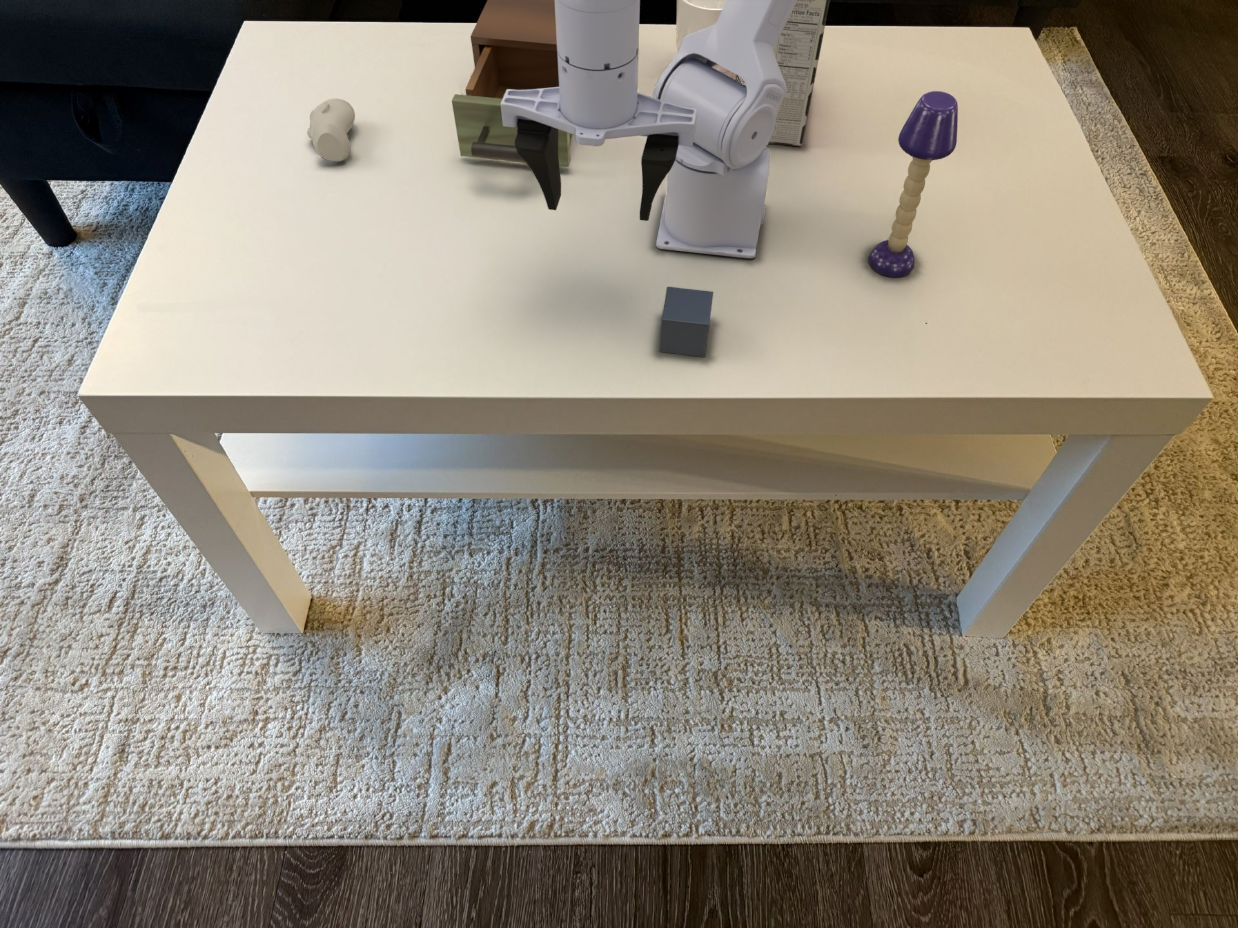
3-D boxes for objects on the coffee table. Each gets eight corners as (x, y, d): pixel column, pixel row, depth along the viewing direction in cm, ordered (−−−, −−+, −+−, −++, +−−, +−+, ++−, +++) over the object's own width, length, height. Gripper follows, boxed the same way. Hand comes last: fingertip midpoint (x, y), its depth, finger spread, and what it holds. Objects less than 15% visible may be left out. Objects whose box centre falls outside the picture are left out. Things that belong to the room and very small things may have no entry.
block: (709, 324, 77) (713, 291, 74) (704, 357, 75) (709, 324, 72) (664, 319, 78) (667, 286, 74) (659, 352, 75) (661, 319, 72)
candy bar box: (762, 86, 99) (785, -68, 86) (806, 90, 99) (836, -64, 85) (755, 144, 93) (779, -13, 79) (802, 149, 92) (834, -8, 79)
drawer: (560, 193, 86) (557, 137, 81) (449, 181, 87) (439, 125, 82) (589, 98, 96) (588, 43, 91) (489, 89, 97) (482, 33, 92)
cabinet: (591, 118, 95) (590, 47, 89) (479, 107, 96) (470, 36, 90) (610, 52, 103) (610, -18, 96) (507, 43, 104) (500, -27, 97)
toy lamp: (868, 279, 81) (920, 118, 67) (857, 245, 83) (904, 84, 70) (918, 277, 81) (980, 115, 67) (905, 243, 84) (962, 82, 70)
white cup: (671, 59, 102) (677, -29, 94) (738, 61, 102) (749, -27, 94) (671, 97, 98) (676, 8, 89) (741, 99, 98) (753, 10, 89)
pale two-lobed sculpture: (324, 132, 95) (366, 119, 94) (312, 176, 90) (356, 163, 89) (302, 98, 92) (344, 83, 91) (288, 141, 87) (332, 127, 86)
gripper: (482, 69, 59) (502, 228, 70) (694, 91, 58) (680, 250, 69) (507, 16, 63) (522, 175, 74) (705, 35, 62) (691, 194, 73)
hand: (599, 207), depth 72 cm, fingers open, 7 cm apart
